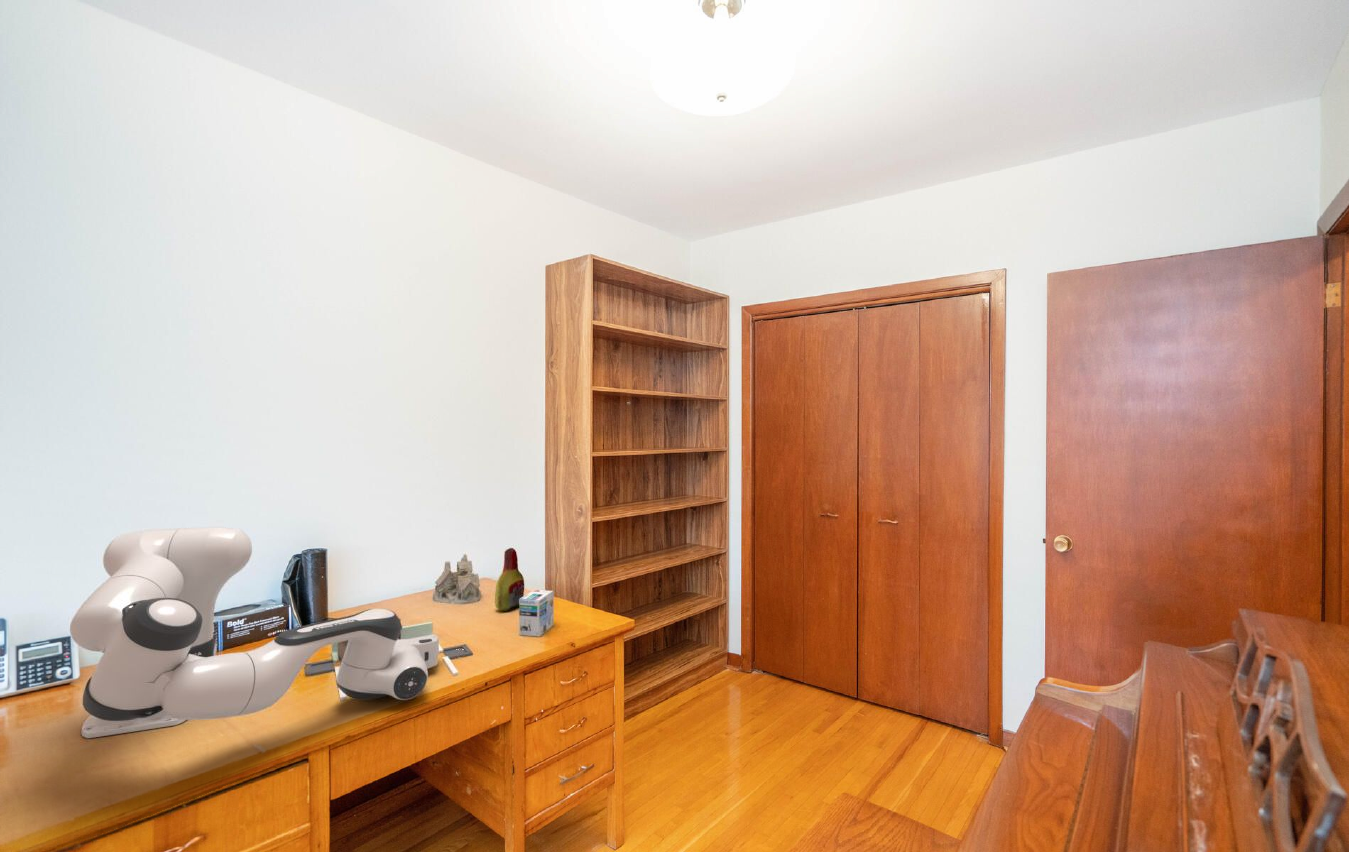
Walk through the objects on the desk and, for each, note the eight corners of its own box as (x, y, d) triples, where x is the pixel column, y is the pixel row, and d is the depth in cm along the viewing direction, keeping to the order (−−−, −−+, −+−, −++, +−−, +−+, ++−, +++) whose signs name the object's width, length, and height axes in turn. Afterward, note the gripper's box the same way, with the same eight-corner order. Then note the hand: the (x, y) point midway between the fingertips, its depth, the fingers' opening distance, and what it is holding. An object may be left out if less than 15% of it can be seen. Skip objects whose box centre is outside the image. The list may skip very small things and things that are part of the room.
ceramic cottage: (432, 594, 215) (434, 553, 214) (480, 591, 221) (482, 551, 220) (431, 609, 201) (432, 565, 200) (482, 606, 206) (484, 563, 206)
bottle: (516, 602, 206) (516, 544, 206) (530, 605, 203) (530, 546, 203) (490, 611, 196) (490, 550, 196) (504, 614, 193) (504, 553, 193)
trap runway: (307, 707, 130) (307, 689, 130) (304, 658, 157) (304, 643, 157) (483, 668, 150) (483, 653, 150) (454, 631, 177) (454, 617, 177)
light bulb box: (539, 637, 173) (539, 600, 173) (518, 635, 174) (518, 598, 174) (554, 625, 183) (554, 590, 183) (534, 623, 184) (534, 588, 184)
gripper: (350, 682, 138) (346, 662, 150) (443, 663, 149) (433, 646, 161) (350, 655, 138) (346, 637, 150) (443, 638, 149) (433, 623, 161)
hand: (392, 642), depth 155 cm, fingers closed
